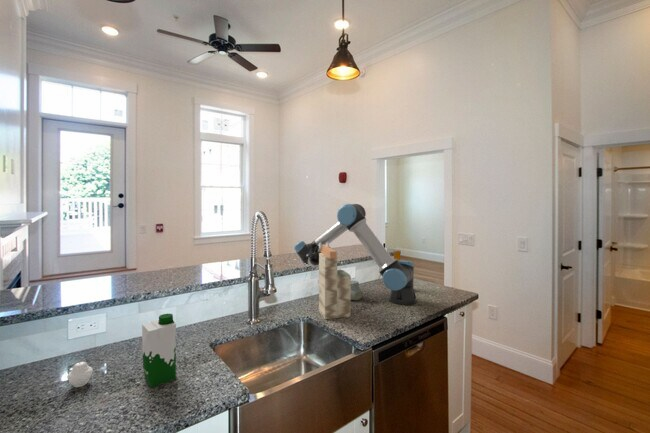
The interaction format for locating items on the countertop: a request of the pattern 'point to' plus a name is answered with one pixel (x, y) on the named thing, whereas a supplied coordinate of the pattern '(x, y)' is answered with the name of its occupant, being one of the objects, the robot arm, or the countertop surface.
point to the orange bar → (328, 252)
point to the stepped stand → (333, 289)
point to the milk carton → (159, 350)
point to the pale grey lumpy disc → (80, 374)
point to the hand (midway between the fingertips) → (324, 244)
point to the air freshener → (355, 291)
